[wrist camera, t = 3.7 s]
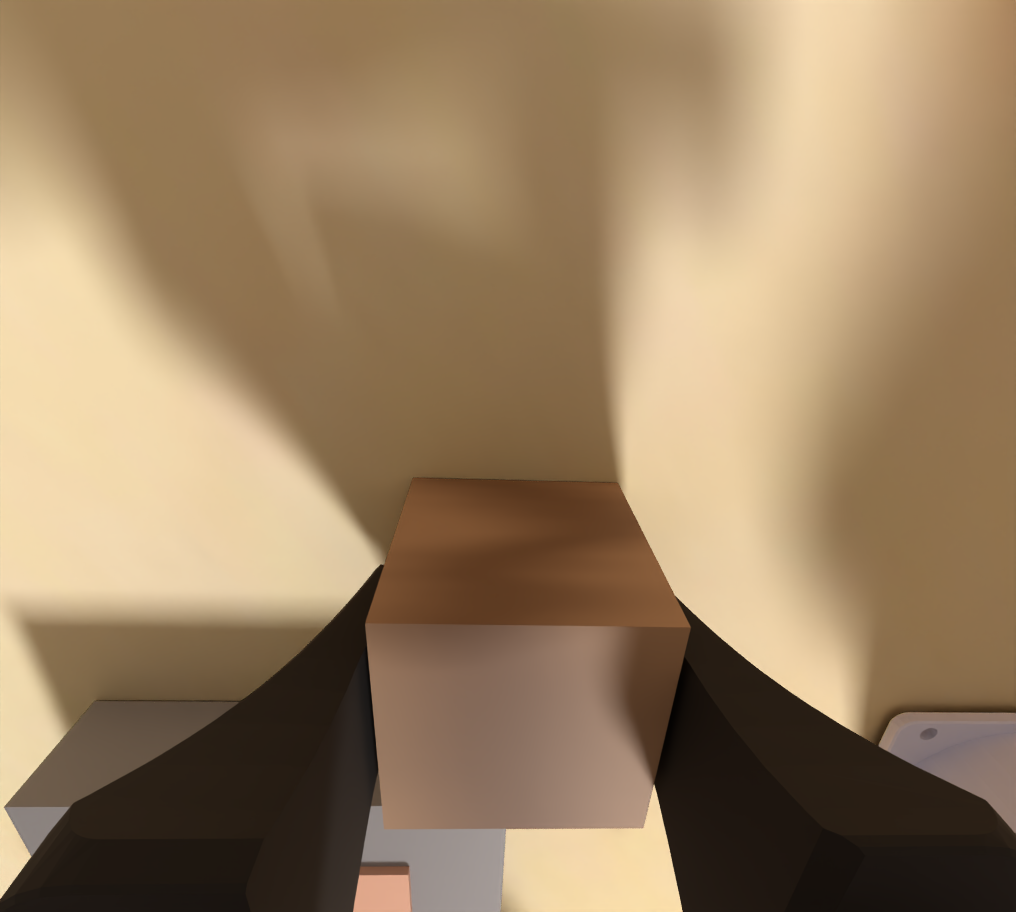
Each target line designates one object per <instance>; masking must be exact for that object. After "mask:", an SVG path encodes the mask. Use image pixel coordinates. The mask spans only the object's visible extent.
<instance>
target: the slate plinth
mask: <svg viewBox="0 0 1016 912" xmlns="http://www.w3.org/2000/svg"><path fill="white" fill-rule="evenodd" d="M238 703H239V702H197V701H94V702H93V704H92V705H91V706H90V707H89V708H88V709H87V711H86V712H85V713H84V714H83V715H82V716H81V718H80V719H79V720H78V721H77V722H76V723H75V725H74V726H73V727H72V728H71V729H70V730H69V732H68V733H67V734H66V735H65V736H64V737H63V739H62V740H61V741H60V742H59V743H58V745H57V746H56V747H55V748H54V749H53V750H52V752H51V753H50V754H49V755H48V756H47V757H46V759H45V760H44V761H43V762H42V763H41V764H40V766H39V767H38V768H37V769H36V770H35V771H34V773H33V774H32V775H31V776H30V777H29V778H28V780H27V781H26V782H25V783H24V784H23V785H22V787H21V788H20V789H19V790H18V791H17V792H16V794H15V795H14V796H13V797H12V798H11V800H10V801H9V802H8V803H7V804H6V805H5V807H4V808H5V810H6V812H7V813H8V815H9V817H10V819H11V821H12V822H13V824H14V826H15V828H16V830H17V831H18V833H19V835H20V837H21V839H22V840H23V842H24V844H25V846H26V847H27V849H28V851H29V853H30V855H31V856H32V855H33V854H34V853H35V851H36V850H37V848H38V847H39V846H40V844H41V843H42V842H43V840H44V839H45V837H46V836H47V835H48V833H49V832H50V831H51V830H52V828H53V827H54V826H55V825H56V824H57V822H58V821H59V820H60V819H61V817H62V816H63V815H64V814H65V813H66V811H67V810H68V809H69V808H70V806H71V805H72V804H73V803H74V802H76V801H78V800H80V799H82V798H84V797H86V796H88V795H90V794H91V793H93V792H95V791H97V790H99V789H101V788H102V787H104V786H106V785H108V784H110V783H111V782H113V781H115V780H117V779H119V778H120V777H122V776H124V775H126V774H128V773H130V772H131V771H133V770H135V769H137V768H139V767H140V766H142V765H144V764H146V763H147V762H149V761H151V760H153V759H154V758H156V757H158V756H159V755H161V754H163V753H164V752H166V751H167V750H169V749H171V748H172V747H174V746H176V745H177V744H179V743H180V742H182V741H184V740H185V739H187V738H188V737H190V736H191V735H193V734H195V733H196V732H198V731H199V730H201V729H202V728H204V727H205V726H207V725H208V724H210V723H211V722H213V721H214V720H216V719H217V718H218V717H220V716H221V715H223V714H224V713H225V712H227V711H228V710H229V709H231V708H232V707H234V706H235V705H236V704H238ZM505 834H506V829H384V824H383V813H382V802H381V791H380V780H379V770H378V775H377V779H376V783H375V788H374V792H373V797H372V803H371V809H370V814H369V820H368V826H367V831H366V837H365V843H364V849H363V855H362V861H361V867H360V873H359V879H358V885H357V891H356V897H355V903H354V909H353V912H501V898H502V882H503V866H504V850H505Z"/></svg>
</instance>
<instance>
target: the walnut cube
mask: <svg viewBox="0 0 1016 912" xmlns="http://www.w3.org/2000/svg"><path fill="white" fill-rule="evenodd" d="M365 628H366V639H367V650H368V661H369V671H370V682H371V693H372V704H373V715H374V726H375V737H376V748H377V759H378V769H379V780H380V791H381V802H382V813H383V824H384V829H582V828H644V824H645V819H646V815H647V811H648V807H649V802H650V798H651V794H652V790H653V785H654V781H655V777H656V773H657V769H658V764H659V760H660V756H661V752H662V747H663V743H664V739H665V735H666V730H667V726H668V722H669V718H670V714H671V709H672V705H673V701H674V697H675V692H676V688H677V684H678V680H679V675H680V671H681V667H682V663H683V658H684V654H685V650H686V646H687V642H688V637H689V633H690V629H691V627H690V625H689V623H688V621H687V619H686V617H685V615H684V613H683V611H682V609H681V607H680V605H679V603H678V601H677V599H676V597H675V595H674V593H673V591H672V589H671V587H670V585H669V583H668V581H667V579H666V577H665V575H664V573H663V571H662V569H661V567H660V565H659V563H658V561H657V559H656V557H655V555H654V553H653V551H652V549H651V548H650V546H649V544H648V542H647V540H646V538H645V536H644V534H643V532H642V530H641V528H640V526H639V524H638V522H637V520H636V518H635V516H634V514H633V512H632V510H631V508H630V506H629V504H628V502H627V500H626V498H625V496H624V494H623V492H622V490H621V488H620V486H619V484H618V483H604V482H563V481H521V480H480V479H438V478H413V479H412V482H411V485H410V488H409V491H408V494H407V497H406V500H405V503H404V507H403V510H402V513H401V516H400V519H399V522H398V525H397V528H396V531H395V534H394V537H393V540H392V543H391V546H390V549H389V552H388V555H387V558H386V561H385V564H384V567H383V570H382V573H381V577H380V580H379V583H378V586H377V589H376V592H375V595H374V598H373V601H372V604H371V607H370V610H369V613H368V616H367V619H366V622H365Z"/></svg>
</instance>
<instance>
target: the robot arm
mask: <svg viewBox="0 0 1016 912" xmlns="http://www.w3.org/2000/svg"><path fill="white" fill-rule="evenodd" d="M383 567H384V565H380V566H379V567H378V568H377V569H376V570H375V571H374V572H373V573H372V575H371V576H370V577H369V578H368V580H367V581H366V582H365V583H364V584H363V586H362V587H361V588H360V589H359V590H358V592H357V593H356V594H355V595H354V596H353V597H352V599H351V600H350V601H349V602H348V603H347V604H346V605H345V606H344V608H343V609H342V610H341V611H340V612H339V613H338V614H337V615H336V616H335V617H334V619H333V620H332V621H331V622H330V623H329V624H328V625H327V626H326V627H325V628H324V629H323V630H322V631H321V632H320V633H319V634H318V635H317V636H316V637H315V638H314V639H313V640H312V641H311V642H310V643H309V644H308V645H307V646H306V647H305V648H304V649H303V650H302V651H301V652H300V653H299V654H298V655H296V656H295V657H294V658H293V659H292V660H291V661H290V662H289V663H288V664H286V665H285V666H284V667H283V668H282V669H281V670H280V671H278V672H277V673H276V674H275V675H274V676H272V677H271V678H270V679H269V680H268V681H266V682H265V683H264V684H263V685H262V686H260V687H259V688H258V689H257V690H255V691H254V692H253V693H251V694H250V695H249V696H247V697H246V698H245V699H243V700H242V701H240V702H239V703H238V704H236V705H235V706H234V707H232V708H231V709H229V710H228V711H227V712H225V713H224V714H223V715H221V716H220V717H218V718H217V719H216V720H214V721H213V722H211V723H210V724H208V725H207V726H205V727H204V728H202V729H201V730H199V731H198V732H196V733H195V734H193V735H191V736H190V737H188V738H187V739H185V740H184V741H182V742H180V743H179V744H177V745H176V746H174V747H172V748H171V749H169V750H167V751H166V752H164V753H163V754H161V755H159V756H158V757H156V758H154V759H153V760H151V761H149V762H147V763H146V764H144V765H142V766H140V767H139V768H137V769H135V770H133V771H131V772H130V773H128V774H126V775H124V776H122V777H120V778H119V779H117V780H115V781H113V782H111V783H110V784H108V785H106V786H104V787H102V788H101V789H99V790H97V791H95V792H93V793H91V794H90V795H88V796H86V797H84V798H82V799H80V800H78V801H76V802H74V803H73V804H72V805H71V806H70V808H69V809H68V810H67V811H66V813H65V814H64V815H63V816H62V817H61V819H60V820H59V821H58V822H57V824H56V825H55V826H54V827H53V828H52V830H51V831H50V832H49V833H48V835H47V836H46V837H45V839H44V840H43V842H42V843H41V844H40V846H39V847H38V848H37V850H36V851H35V853H34V854H33V855H32V857H31V858H30V860H29V861H28V862H27V864H26V865H25V866H24V868H23V869H22V870H21V872H20V873H19V875H18V876H17V877H16V879H15V880H14V881H13V883H12V884H11V885H10V887H9V888H8V890H7V891H6V892H5V894H4V895H3V896H2V898H1V899H0V912H353V909H354V903H355V897H356V891H357V885H358V879H359V873H360V867H361V861H362V855H363V849H364V843H365V837H366V831H367V826H368V820H369V814H370V809H371V803H372V797H373V792H374V788H375V783H376V779H377V775H378V770H379V769H378V759H377V748H376V737H375V726H374V715H373V704H372V693H371V682H370V671H369V661H368V650H367V639H366V628H365V622H366V619H367V616H368V613H369V610H370V607H371V604H372V601H373V598H374V595H375V592H376V589H377V586H378V583H379V580H380V577H381V573H382V570H383ZM675 597H676V596H675ZM676 599H677V601H678V603H679V605H680V607H681V609H682V611H683V613H684V615H685V617H686V619H687V621H688V623H689V625H690V627H691V629H690V633H689V637H688V642H687V646H686V650H685V654H684V658H683V663H682V667H681V671H680V675H679V680H678V684H677V688H676V692H675V697H674V701H673V705H672V709H671V714H670V718H669V722H668V726H667V730H666V735H665V739H664V743H663V747H662V752H661V756H660V760H659V764H658V769H657V773H656V777H655V781H654V785H655V788H656V792H657V796H658V800H659V804H660V809H661V813H662V817H663V822H664V826H665V830H666V835H667V839H668V844H669V848H670V853H671V858H672V862H673V867H674V872H675V876H676V881H677V886H678V891H679V895H680V900H681V905H682V910H683V912H1016V713H972V712H906V713H901V714H899V715H896V716H895V717H894V718H892V720H891V721H890V722H889V724H888V726H887V728H886V730H885V732H884V735H883V737H882V739H881V741H880V743H879V745H878V746H877V745H875V744H873V743H872V742H870V741H868V740H866V739H864V738H863V737H861V736H859V735H858V734H856V733H854V732H852V731H851V730H849V729H847V728H846V727H844V726H842V725H840V724H839V723H837V722H836V721H834V720H832V719H831V718H829V717H828V716H826V715H825V714H823V713H821V712H820V711H818V710H817V709H815V708H813V707H812V706H810V705H809V704H807V703H806V702H804V701H803V700H801V699H800V698H798V697H797V696H795V695H794V694H792V693H791V692H789V691H788V690H786V689H785V688H784V687H782V686H781V685H780V684H778V683H777V682H775V681H774V680H773V679H771V678H770V677H769V676H767V675H766V674H764V673H763V672H762V671H760V670H759V669H758V668H756V667H755V666H754V665H753V664H751V663H750V662H749V661H747V660H746V659H745V658H744V657H743V656H741V655H740V654H739V653H738V652H737V651H735V650H734V649H733V648H732V647H731V646H729V645H728V644H727V643H726V642H725V641H723V640H722V639H721V638H720V637H719V636H718V635H716V634H715V633H714V632H713V631H712V630H711V629H710V628H709V627H707V626H706V625H705V624H704V623H703V622H702V621H701V620H700V619H699V618H698V617H697V616H696V615H694V614H693V613H692V612H691V611H690V610H689V609H688V608H687V607H686V606H685V605H684V604H683V603H682V602H681V601H680V600H679V599H678V598H677V597H676Z"/></svg>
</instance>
